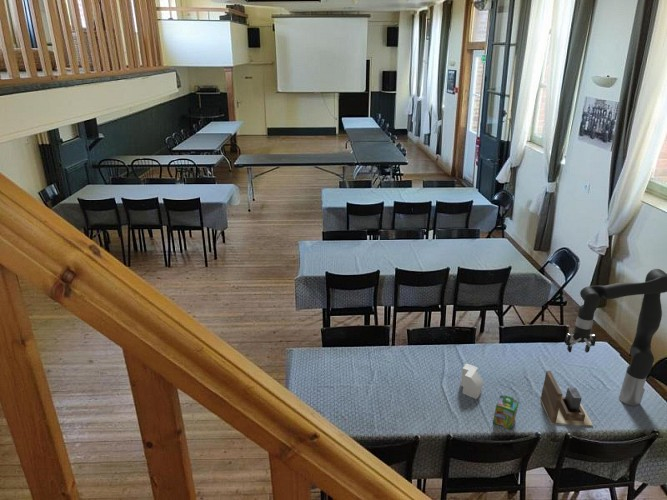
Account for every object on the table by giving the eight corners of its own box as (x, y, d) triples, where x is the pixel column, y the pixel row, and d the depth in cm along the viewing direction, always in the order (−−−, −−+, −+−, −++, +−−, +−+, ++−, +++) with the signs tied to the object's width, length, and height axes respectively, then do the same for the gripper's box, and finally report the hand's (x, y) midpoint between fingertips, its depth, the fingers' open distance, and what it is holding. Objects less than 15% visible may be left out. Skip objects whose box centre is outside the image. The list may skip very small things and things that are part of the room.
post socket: (579, 402, 257) (586, 372, 250) (592, 426, 241) (601, 396, 233) (540, 399, 259) (546, 370, 252) (551, 424, 242) (558, 393, 235)
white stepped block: (463, 380, 273) (466, 363, 269) (483, 388, 267) (486, 370, 263) (456, 391, 265) (458, 373, 261) (476, 399, 259) (479, 381, 255)
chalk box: (492, 423, 243) (496, 399, 237) (497, 412, 250) (501, 389, 244) (511, 430, 239) (516, 406, 233) (515, 419, 246) (520, 395, 240)
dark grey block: (571, 406, 253) (575, 387, 248) (576, 417, 246) (581, 398, 241) (563, 405, 253) (567, 387, 249) (568, 416, 246) (573, 397, 241)
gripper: (594, 321, 248) (588, 347, 255) (566, 320, 249) (560, 347, 255) (601, 329, 241) (595, 356, 248) (572, 328, 242) (566, 355, 248)
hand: (577, 351), depth 252 cm, fingers open, 8 cm apart
